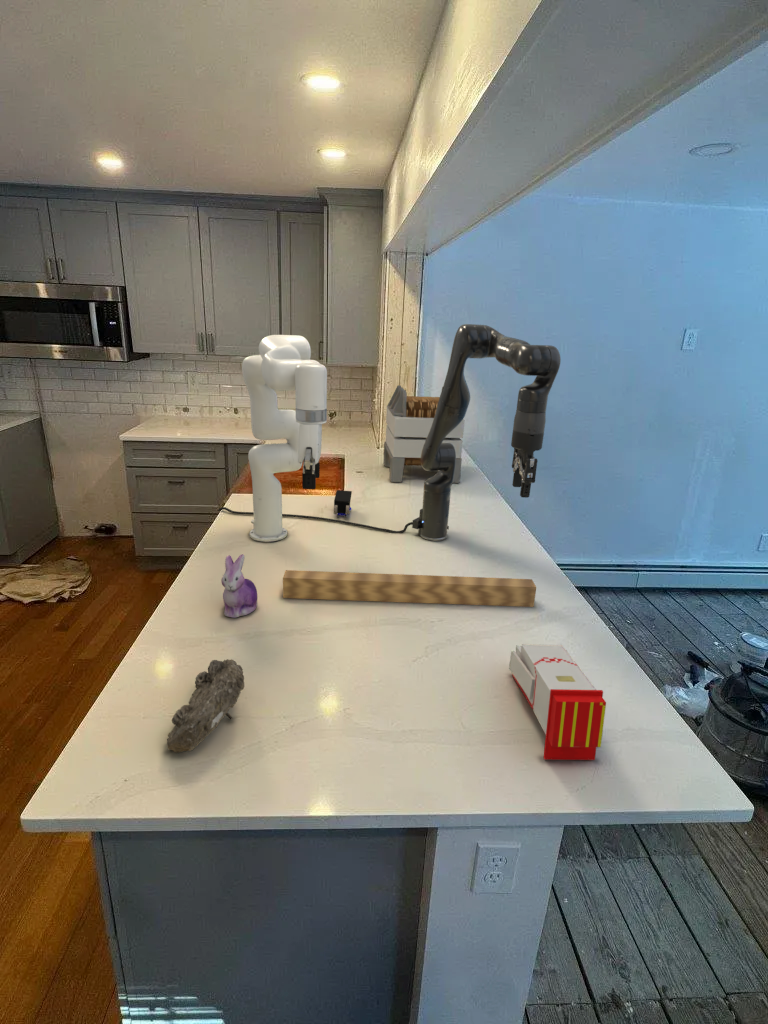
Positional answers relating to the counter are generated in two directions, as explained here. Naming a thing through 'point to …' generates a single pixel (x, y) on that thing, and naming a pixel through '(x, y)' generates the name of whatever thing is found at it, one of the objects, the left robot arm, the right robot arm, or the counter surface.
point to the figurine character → (342, 503)
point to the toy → (560, 700)
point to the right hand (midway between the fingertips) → (520, 491)
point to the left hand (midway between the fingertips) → (311, 483)
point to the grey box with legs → (413, 433)
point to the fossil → (206, 705)
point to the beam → (408, 588)
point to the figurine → (237, 589)
